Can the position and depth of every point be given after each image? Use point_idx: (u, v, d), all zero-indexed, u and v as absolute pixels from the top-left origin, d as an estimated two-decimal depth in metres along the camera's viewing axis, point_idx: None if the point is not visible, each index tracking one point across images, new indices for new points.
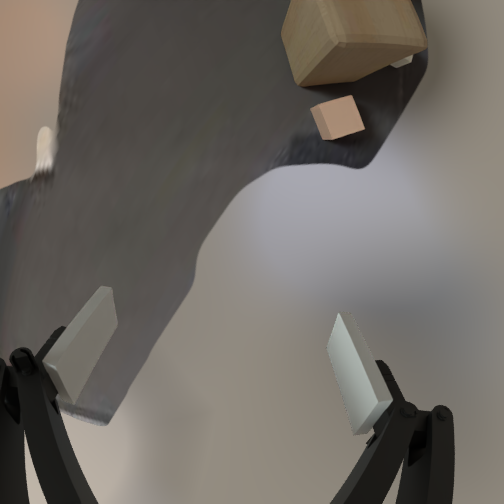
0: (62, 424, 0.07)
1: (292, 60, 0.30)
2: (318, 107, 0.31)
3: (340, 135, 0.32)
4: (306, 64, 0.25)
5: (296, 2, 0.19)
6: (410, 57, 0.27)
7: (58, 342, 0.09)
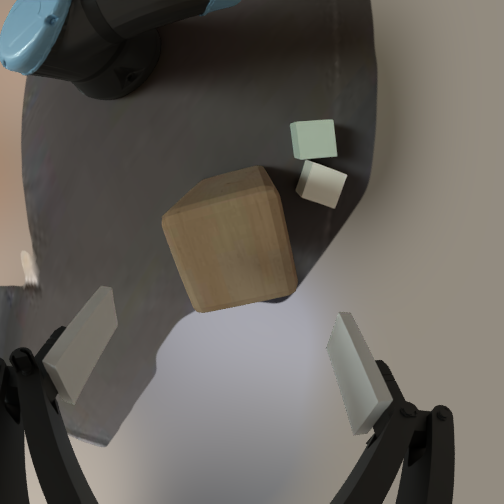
0: (62, 424, 0.07)
1: None
2: None
3: None
4: None
5: None
6: (334, 203, 0.36)
7: (58, 342, 0.09)
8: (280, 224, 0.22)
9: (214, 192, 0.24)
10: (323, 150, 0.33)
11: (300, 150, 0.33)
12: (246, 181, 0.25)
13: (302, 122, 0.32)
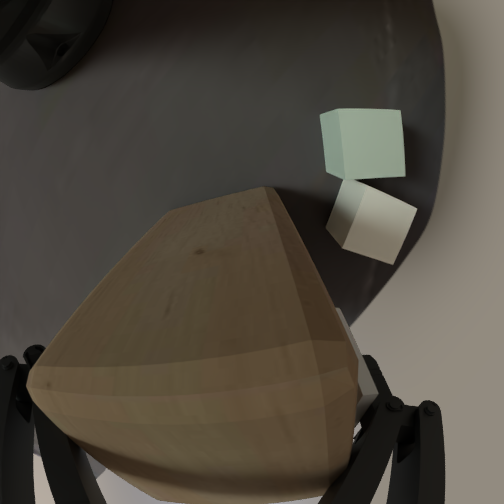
0: None
1: None
2: None
3: None
4: None
5: None
6: (393, 255, 0.20)
7: None
8: (346, 435, 0.06)
9: (151, 302, 0.08)
10: (384, 165, 0.17)
11: (345, 163, 0.17)
12: (242, 260, 0.09)
13: (349, 110, 0.16)
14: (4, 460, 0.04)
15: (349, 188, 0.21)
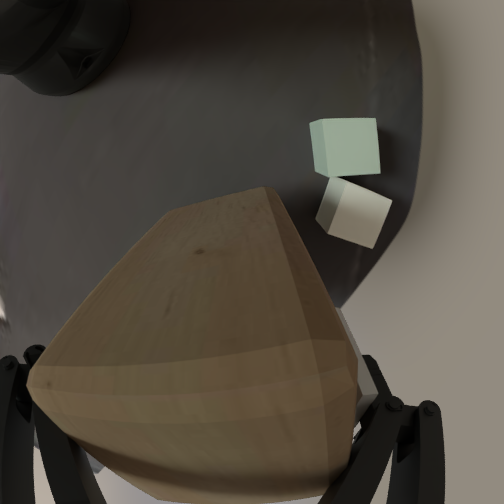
0: None
1: None
2: None
3: None
4: None
5: None
6: (373, 241, 0.24)
7: None
8: (345, 434, 0.06)
9: (151, 302, 0.08)
10: (361, 164, 0.22)
11: (328, 163, 0.22)
12: (242, 260, 0.09)
13: (331, 120, 0.20)
14: (4, 460, 0.04)
15: (334, 184, 0.25)
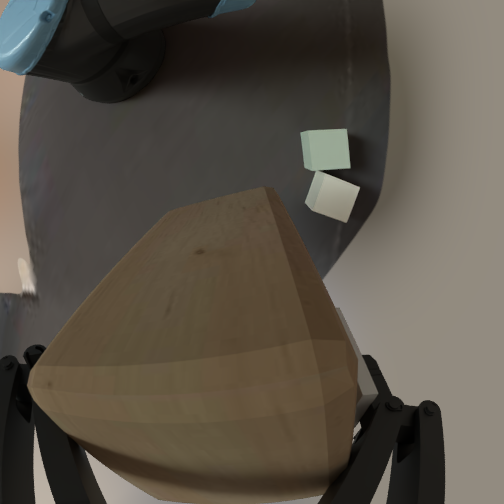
0: None
1: None
2: None
3: None
4: None
5: None
6: (346, 216, 0.34)
7: None
8: (345, 434, 0.06)
9: (152, 302, 0.08)
10: (336, 162, 0.32)
11: (312, 161, 0.32)
12: (243, 260, 0.10)
13: (315, 131, 0.30)
14: (4, 460, 0.04)
15: (318, 177, 0.35)
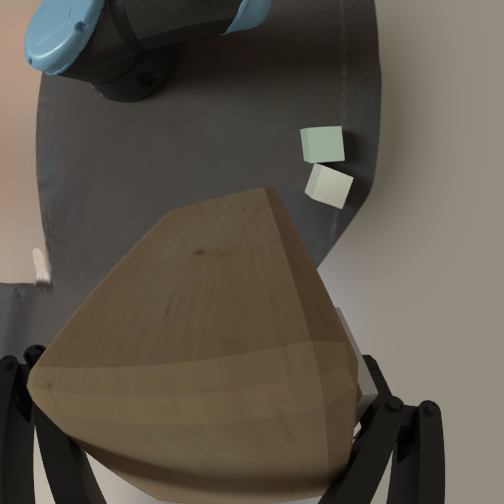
0: None
1: None
2: None
3: None
4: None
5: None
6: (341, 203, 0.39)
7: None
8: (345, 436, 0.06)
9: (152, 303, 0.08)
10: (331, 155, 0.36)
11: (311, 154, 0.36)
12: (242, 261, 0.09)
13: (313, 128, 0.34)
14: (4, 460, 0.04)
15: (316, 168, 0.39)
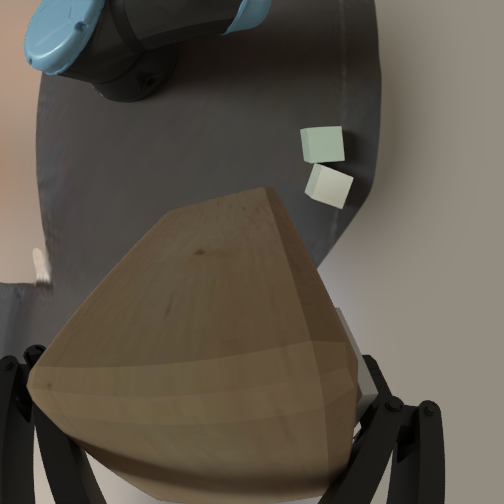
0: None
1: None
2: None
3: None
4: None
5: None
6: (341, 203, 0.39)
7: None
8: (345, 436, 0.06)
9: (152, 303, 0.08)
10: (332, 155, 0.36)
11: (311, 154, 0.36)
12: (242, 261, 0.09)
13: (313, 128, 0.34)
14: (4, 460, 0.04)
15: (316, 168, 0.39)
